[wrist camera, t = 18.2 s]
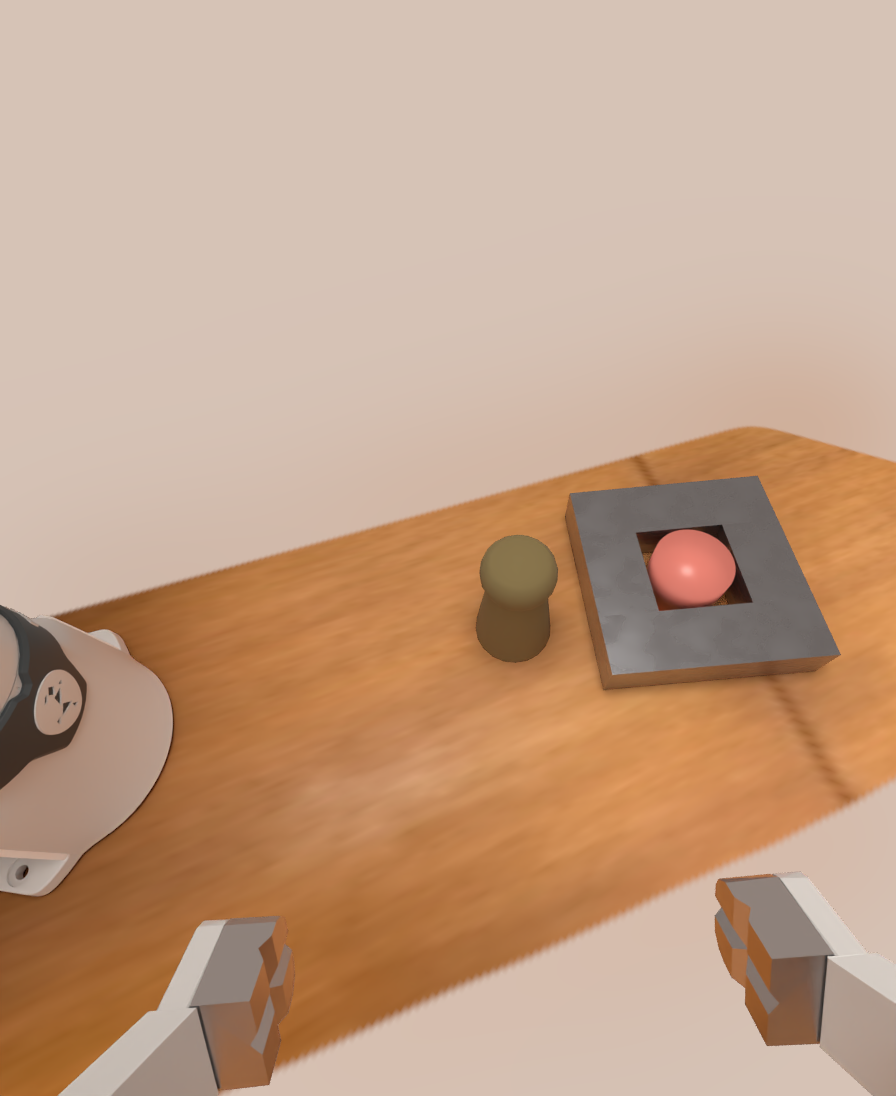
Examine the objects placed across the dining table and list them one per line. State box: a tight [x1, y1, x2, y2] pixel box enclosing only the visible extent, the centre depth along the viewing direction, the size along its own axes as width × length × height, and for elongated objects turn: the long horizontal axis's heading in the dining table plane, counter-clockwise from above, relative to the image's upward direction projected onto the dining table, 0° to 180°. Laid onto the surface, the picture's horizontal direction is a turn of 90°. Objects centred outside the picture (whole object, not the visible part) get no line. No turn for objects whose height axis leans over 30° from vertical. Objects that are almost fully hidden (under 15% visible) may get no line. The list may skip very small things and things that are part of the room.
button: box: [646, 530, 736, 611], centre depth 44 cm, size 6×6×4 cm
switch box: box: [565, 476, 841, 690], centre depth 44 cm, size 16×16×4 cm
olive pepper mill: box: [476, 535, 558, 663], centre depth 40 cm, size 6×6×11 cm
